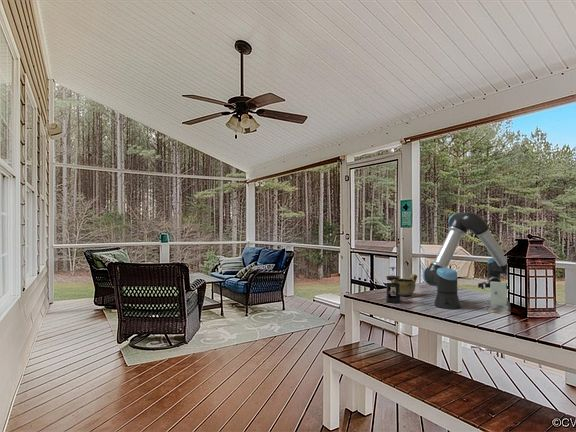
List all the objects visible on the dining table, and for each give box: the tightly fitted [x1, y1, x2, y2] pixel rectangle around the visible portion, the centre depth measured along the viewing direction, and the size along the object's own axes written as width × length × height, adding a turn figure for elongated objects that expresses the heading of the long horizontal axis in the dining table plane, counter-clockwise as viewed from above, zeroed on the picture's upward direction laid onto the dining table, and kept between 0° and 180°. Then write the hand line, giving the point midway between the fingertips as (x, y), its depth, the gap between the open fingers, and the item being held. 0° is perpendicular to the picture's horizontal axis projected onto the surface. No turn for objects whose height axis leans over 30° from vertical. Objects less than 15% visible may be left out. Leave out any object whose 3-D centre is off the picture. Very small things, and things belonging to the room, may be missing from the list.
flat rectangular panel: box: [489, 281, 508, 306], centre depth 208 cm, size 8×3×16 cm, turn 63°
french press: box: [385, 266, 402, 305], centre depth 239 cm, size 12×9×23 cm
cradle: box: [487, 300, 511, 315], centre depth 208 cm, size 11×6×6 cm, turn 63°
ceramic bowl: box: [389, 273, 418, 297], centre depth 261 cm, size 22×17×15 cm
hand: (497, 288), depth 217 cm, fingers open, 13 cm apart
